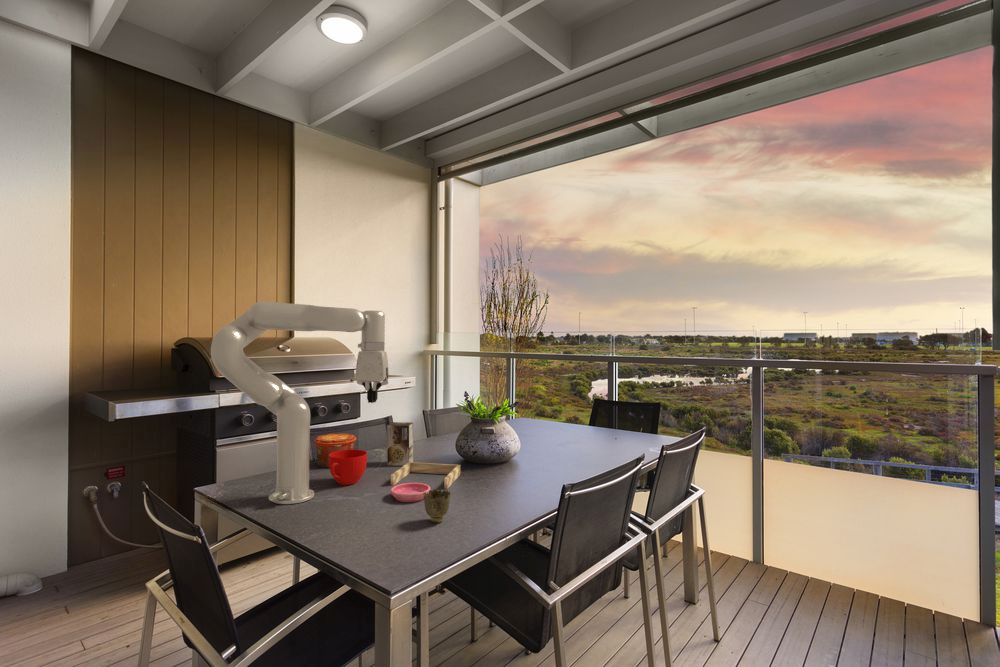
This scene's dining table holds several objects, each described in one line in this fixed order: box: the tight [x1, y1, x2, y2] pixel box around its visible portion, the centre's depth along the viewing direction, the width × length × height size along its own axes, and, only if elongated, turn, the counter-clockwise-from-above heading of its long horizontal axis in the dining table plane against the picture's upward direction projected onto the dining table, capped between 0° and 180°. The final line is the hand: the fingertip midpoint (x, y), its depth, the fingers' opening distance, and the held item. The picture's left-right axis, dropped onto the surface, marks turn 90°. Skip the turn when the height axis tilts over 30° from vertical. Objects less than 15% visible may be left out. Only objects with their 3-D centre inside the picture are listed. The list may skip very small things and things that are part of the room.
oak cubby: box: [390, 461, 461, 490], centre depth 181 cm, size 18×20×4 cm
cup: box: [423, 488, 451, 524], centre depth 142 cm, size 8×7×8 cm
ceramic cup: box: [329, 449, 368, 486], centre depth 176 cm, size 13×17×10 cm
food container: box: [313, 433, 357, 469], centre depth 201 cm, size 16×16×11 cm
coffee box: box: [386, 421, 414, 467], centre depth 203 cm, size 9×6×16 cm
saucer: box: [390, 482, 431, 503], centre depth 162 cm, size 12×12×3 cm
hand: (372, 402), depth 171 cm, fingers closed
